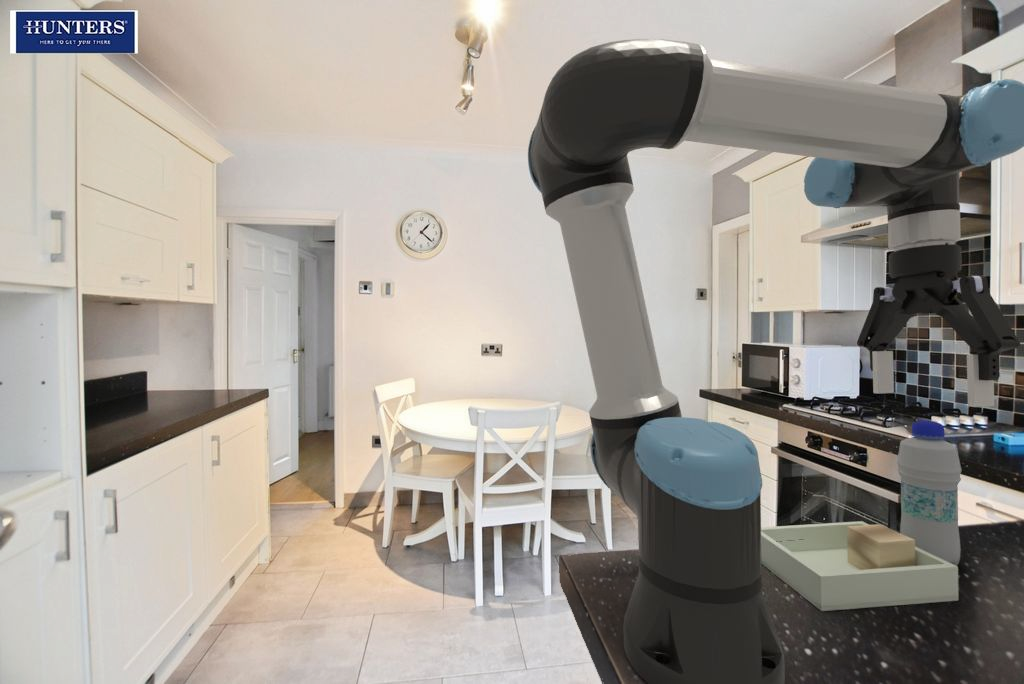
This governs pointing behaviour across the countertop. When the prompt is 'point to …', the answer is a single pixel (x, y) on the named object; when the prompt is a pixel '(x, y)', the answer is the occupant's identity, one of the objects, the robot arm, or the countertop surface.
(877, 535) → the cube
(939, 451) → the bottle
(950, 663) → the countertop surface
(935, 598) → the tote
